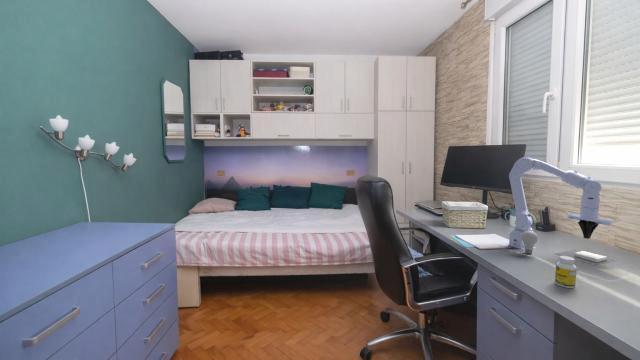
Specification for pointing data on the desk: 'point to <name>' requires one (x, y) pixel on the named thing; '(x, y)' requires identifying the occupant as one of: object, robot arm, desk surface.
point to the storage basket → (464, 214)
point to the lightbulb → (529, 240)
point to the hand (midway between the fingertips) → (586, 238)
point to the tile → (590, 256)
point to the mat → (571, 254)
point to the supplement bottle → (565, 272)
